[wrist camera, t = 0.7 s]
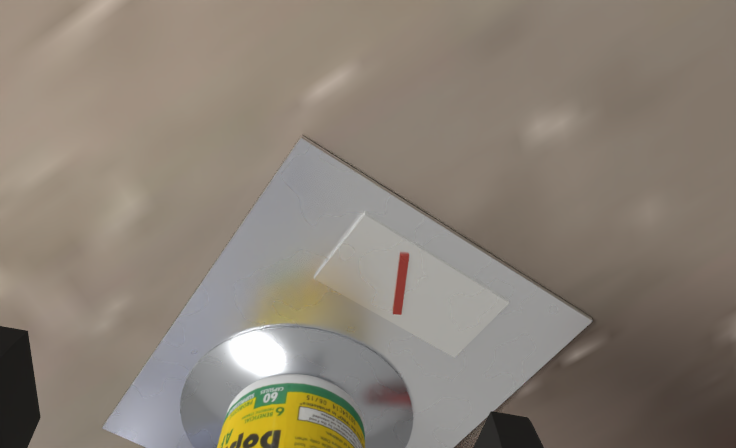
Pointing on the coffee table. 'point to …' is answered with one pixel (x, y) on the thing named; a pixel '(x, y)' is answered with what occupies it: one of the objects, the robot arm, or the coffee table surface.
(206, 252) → the coffee table surface
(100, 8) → the coffee table surface
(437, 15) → the coffee table surface
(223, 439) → the supplement bottle
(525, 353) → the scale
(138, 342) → the coffee table surface
